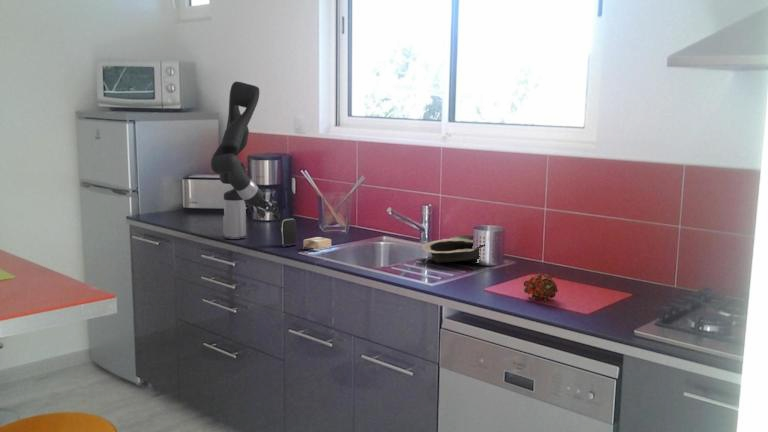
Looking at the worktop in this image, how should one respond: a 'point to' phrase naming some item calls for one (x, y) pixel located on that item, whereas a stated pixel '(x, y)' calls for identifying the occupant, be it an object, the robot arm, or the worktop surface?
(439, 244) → the stone bowl
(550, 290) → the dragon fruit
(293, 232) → the battery
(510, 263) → the worktop surface
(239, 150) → the robot arm
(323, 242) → the oak slab
